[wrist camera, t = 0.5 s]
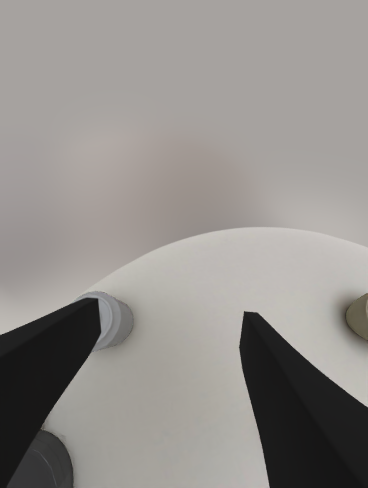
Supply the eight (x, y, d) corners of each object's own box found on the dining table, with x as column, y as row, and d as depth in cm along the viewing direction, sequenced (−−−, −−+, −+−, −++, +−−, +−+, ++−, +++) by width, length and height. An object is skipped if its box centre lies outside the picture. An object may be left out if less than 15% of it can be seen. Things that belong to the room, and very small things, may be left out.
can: (88, 308, 35) (51, 299, 24) (129, 295, 36) (111, 281, 25) (94, 352, 32) (56, 365, 21) (138, 336, 34) (123, 340, 23)
